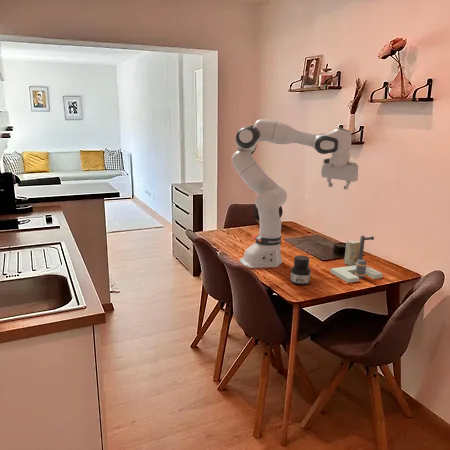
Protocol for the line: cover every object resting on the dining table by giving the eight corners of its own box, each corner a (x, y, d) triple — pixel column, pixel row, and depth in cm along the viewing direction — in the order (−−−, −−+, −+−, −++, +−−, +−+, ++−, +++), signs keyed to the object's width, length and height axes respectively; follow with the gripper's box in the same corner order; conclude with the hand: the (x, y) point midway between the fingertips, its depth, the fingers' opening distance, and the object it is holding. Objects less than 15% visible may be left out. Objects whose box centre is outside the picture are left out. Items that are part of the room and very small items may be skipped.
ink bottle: (287, 284, 190) (289, 259, 187) (291, 277, 198) (293, 253, 195) (309, 287, 187) (311, 262, 184) (311, 280, 195) (313, 256, 192)
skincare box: (349, 266, 215) (351, 243, 212) (343, 263, 219) (345, 241, 216) (358, 264, 218) (361, 242, 215) (352, 261, 222) (354, 239, 219)
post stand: (348, 282, 193) (352, 246, 189) (330, 272, 206) (333, 237, 201) (386, 277, 201) (390, 241, 197) (366, 267, 214) (370, 233, 209)
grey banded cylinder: (361, 279, 198) (362, 263, 196) (352, 276, 202) (354, 260, 199) (367, 277, 201) (368, 261, 199) (358, 274, 204) (360, 258, 202)
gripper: (362, 162, 205) (359, 190, 209) (327, 159, 220) (325, 184, 224) (354, 163, 201) (352, 191, 205) (320, 159, 216) (318, 185, 220)
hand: (338, 188), depth 214 cm, fingers open, 8 cm apart
